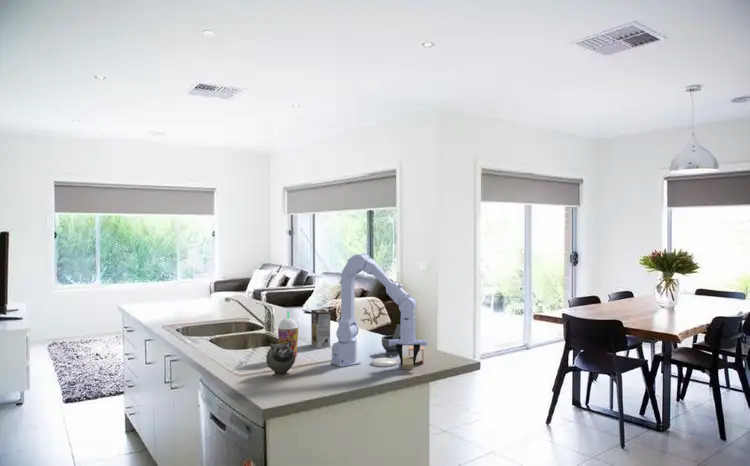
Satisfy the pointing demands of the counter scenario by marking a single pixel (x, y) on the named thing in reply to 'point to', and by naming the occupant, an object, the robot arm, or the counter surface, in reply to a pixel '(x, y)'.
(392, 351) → the mortar and pestle
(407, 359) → the block
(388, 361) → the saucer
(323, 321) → the coffee box
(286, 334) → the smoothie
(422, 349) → the cover
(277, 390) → the counter surface
